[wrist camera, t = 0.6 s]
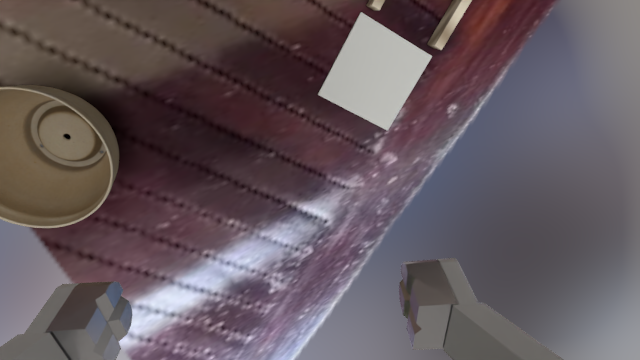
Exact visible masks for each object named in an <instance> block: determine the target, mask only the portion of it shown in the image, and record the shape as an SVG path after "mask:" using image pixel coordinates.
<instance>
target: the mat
mask: <svg viewBox="0 0 640 360" xmlns="http://www.w3.org/2000/svg"><path fill="white" fill-rule="evenodd" d="M431 58H432V56H431V55H429V54H427V53H426V52H424V51H423V50H421V49H419V48H418V47H416V46H415V45H413V44H411V43H410V42H408V41H407V40H405V39H403V38H402V37H400V36H399V35H397V34H395V33H394V32H392V31H391V30H389V29H387V28H386V27H384V26H383V25H381V24H379V23H378V22H376V21H374V20H373V19H371V18H370V17H368V16H366V15H365V14H363V13H362V12H360V14H359V16H358V18H357V20H356V22H355V24H354V26H353V28H352V29H351V31H350V33H349V35H348V37H347V39H346V41H345V43H344V45H343V47H342V49H341V51H340V53H339V54H338V56H337V58H336V60H335V62H334V64H333V66H332V68H331V70H330V72H329V74H328V76H327V77H326V79H325V81H324V83H323V85H322V87H321V89H320V91H319V93H318V95H319V96H321V97H323V98H325V99H327V100H329V101H331V102H333V103H335V104H337V105H339V106H341V107H343V108H345V109H346V110H348V111H350V112H352V113H354V114H356V115H358V116H360V117H362V118H364V119H366V120H368V121H370V122H372V123H374V124H376V125H377V126H379V127H381V128H383V129H385V130H387V131H388V129H389V128H390V126H391V124H392V123H393V121H394V119H395V118H396V116H397V114H398V113H399V111H400V109H401V108H402V106H403V104H404V103H405V101H406V99H407V98H408V96H409V94H410V93H411V91H412V89H413V88H414V86H415V84H416V83H417V81H418V79H419V78H420V76H421V74H422V73H423V71H424V69H425V68H426V66H427V64H428V63H429V61H430V59H431Z"/></svg>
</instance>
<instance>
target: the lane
mask: <svg viewBox="0 0 640 360" xmlns="http://www.w3.org/2000/svg"><path fill="white" fill-rule="evenodd" d="M384 1H385V0H369V1H368V3H367V5H366V6H368V7H369V8H371V9H373V10H380V9H381V7H382V5H383V3H384ZM471 1H472V0H453V1H452V3H451V4H450V6H449V8H448V9H447V11H446V13H445V14H444V16H443V18H442V20H441V21H440V23H439V25H438V26H437V28H436V30H435V31H434V33H433V35H432V36H431V38H430V40H429V42H428V43H427V44H428V45H429V46H431V47H432V48H435V49H439V50H442V49H443V47H444V45H445V44H446V42H447V40H448V39H449V37H450V35H451V34H452V32H453V30H454V29H455V27H456V25H457V24H458V22H459V21H460V19H461V17H462V16H463V14H464V12H465V11H466V9H467V7H468V6H469V4H470V2H471Z"/></svg>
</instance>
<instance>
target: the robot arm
mask: <svg viewBox="0 0 640 360" xmlns="http://www.w3.org/2000/svg"><path fill="white" fill-rule="evenodd" d="M401 274H402V277H403V280H402V281H401V282H400V286H399V295H400V304H401V308H402V312H403V315H404V316H405V317H406V318H407V319H408V323H407V331H408V334H409V338H410V341H411V345H412V349H413V350H418V349H419V350H420V349H444V351H445V352H446V353H447V354H448V356H450V358H451V359H452V360H563V359H562V358H560V357H559V356H558V355H556V354H555V353H553V352H552V351H551V350H549V349H548V348H546V347H545V346H543V345H542V344H541V343H539V342H538V341H537V340H535V339H534V338H532V337H531V336H530V335H528V334H527V333H525V332H524V331H522V330H521V329H520V328H518V327H517V326H515V325H514V324H513V323H511V322H510V321H509V320H507V319H506V318H504V317H503V316H501V315H500V314H499V313H497V312H496V311H495V310H493V309H492V308H490V307H489V306H487V305H486V304H485V303H478V301H477V299H476V297H475V295H474V293H473V291H472V289H471V287H470V285H469V283H468V281H467V279H466V277H465V275H464V273H463V271H462V269H461V267H460V265H459V263H458V261H457V260H456V259H455V258H449V259H437V260H423V261H411V262H402V265H401ZM122 292H123V289H122V287H121V285H120V283H119V282H94V283H78V284H62V285H61V286H59V287H58V288H56V289H55V291H54V293H53V294H52V295H51V297H50V298H49V299H48V301H47V302H46V304H45V305H44V307H43V308H42V309H41V311H40V312H39V313H38V315H37V316H36V318H35V319H34V321H33V322H32V323H31V325H30V326H29V328H28V329H27V330H26V332H25V333H24V334H20V335H17V336H16V337H14V338H13V339H11V340H10V341H8V342H7V343H5V344H4V345H3V346H1V347H0V360H116V358H117V356H118V353H119V351H120V349H121V348H120V345H119V342H118V341H120V340H121V339H122V338H123V337H124V336H125V335H126V334H127V333H128V331H129V328H130V326H131V320H132V309H131V305H130V303H129V301H128V300H126V299H125V298H123V297H122V296H121V294H122Z"/></svg>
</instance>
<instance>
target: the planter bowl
mask: <svg viewBox="0 0 640 360" xmlns="http://www.w3.org/2000/svg"><path fill="white" fill-rule="evenodd" d="M65 134H69V135H70V139H66V138H65V137H64V135H65ZM118 165H119V148H118V143H117V140H116V137H115V134H114V132H113V130H112V128H111V126H110V124H109V123H108V121H107V120H106V119H105V117H104V116H103V115H102V114H101V113H100V112H99V111H98V110H97V109H96V108H95V107H93V106H92V105H91V104H90V103H88V102H87V101H85V100H83V99H82V98H80V97H78V96H76V95H74V94H71V93H69V92H66V91H63V90H60V89H56V88H52V87H47V86H39V85H17V86H2V87H0V219H2V220H4V221H7V222H10V223H14V224H17V225H22V226H27V227H35V228H56V227H62V226H67V225H71V224H74V223H76V222H79V221H81V220H83V219H85V218H86V217H88V216H90V215H91V214H92V213H94V212H95V211H96V210H97V209H98V208H99V207H100V206H101V205H102V204H103V202H104V201H105V199H106V198H107V196H108V194H109V192H110V190H111V188H112V185H113V182H114V180H115V177H116V174H117V171H118Z"/></svg>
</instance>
